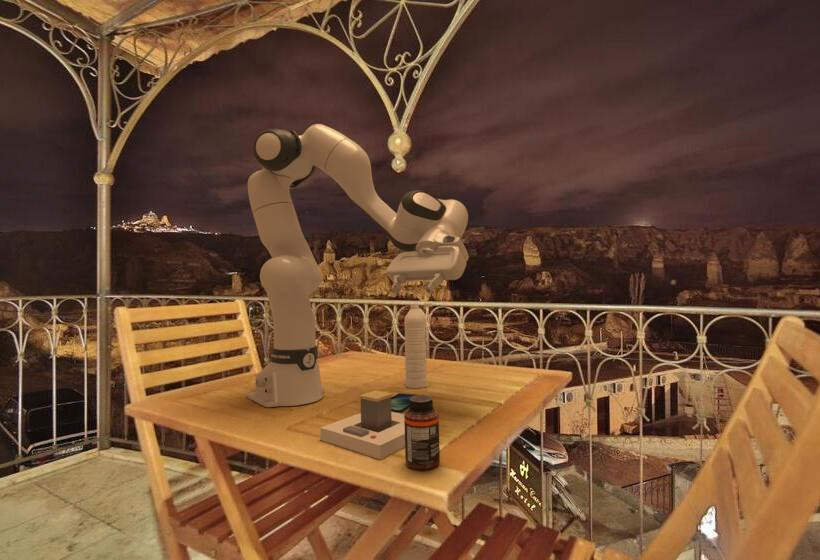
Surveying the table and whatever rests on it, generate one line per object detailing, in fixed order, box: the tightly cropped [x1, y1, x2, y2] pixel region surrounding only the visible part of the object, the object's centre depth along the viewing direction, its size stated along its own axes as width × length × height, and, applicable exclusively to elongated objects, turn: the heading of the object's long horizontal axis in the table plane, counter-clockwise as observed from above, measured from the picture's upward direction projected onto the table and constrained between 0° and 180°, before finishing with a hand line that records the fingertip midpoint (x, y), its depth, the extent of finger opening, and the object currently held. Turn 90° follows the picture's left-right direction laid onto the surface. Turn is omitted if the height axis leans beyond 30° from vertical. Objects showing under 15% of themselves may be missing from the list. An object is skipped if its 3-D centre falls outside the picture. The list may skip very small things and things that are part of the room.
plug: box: [359, 390, 393, 433], centre depth 84 cm, size 5×5×8 cm
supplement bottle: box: [403, 394, 441, 471], centre depth 71 cm, size 6×6×11 cm
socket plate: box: [319, 412, 405, 460], centre depth 84 cm, size 16×16×3 cm
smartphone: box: [391, 392, 417, 414], centre depth 107 cm, size 8×1×15 cm
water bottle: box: [404, 302, 433, 389], centre depth 125 cm, size 9×6×25 cm
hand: (411, 290), depth 94 cm, fingers open, 8 cm apart
